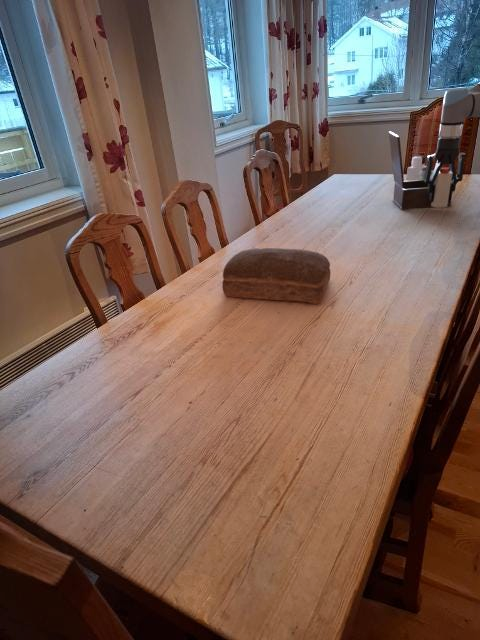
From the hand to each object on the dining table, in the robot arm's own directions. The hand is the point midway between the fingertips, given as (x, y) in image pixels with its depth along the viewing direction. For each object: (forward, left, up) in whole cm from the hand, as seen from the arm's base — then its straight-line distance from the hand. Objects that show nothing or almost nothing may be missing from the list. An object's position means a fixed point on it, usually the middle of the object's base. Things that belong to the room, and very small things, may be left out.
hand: (439, 200), depth 167 cm
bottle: (0, 0, -2) cm, 2 cm away
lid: (+13, -15, +13) cm, 24 cm away
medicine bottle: (-7, -53, -6) cm, 54 cm away
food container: (-5, -33, -6) cm, 34 cm away
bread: (+65, +58, -6) cm, 87 cm away
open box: (+2, -16, -5) cm, 17 cm away
